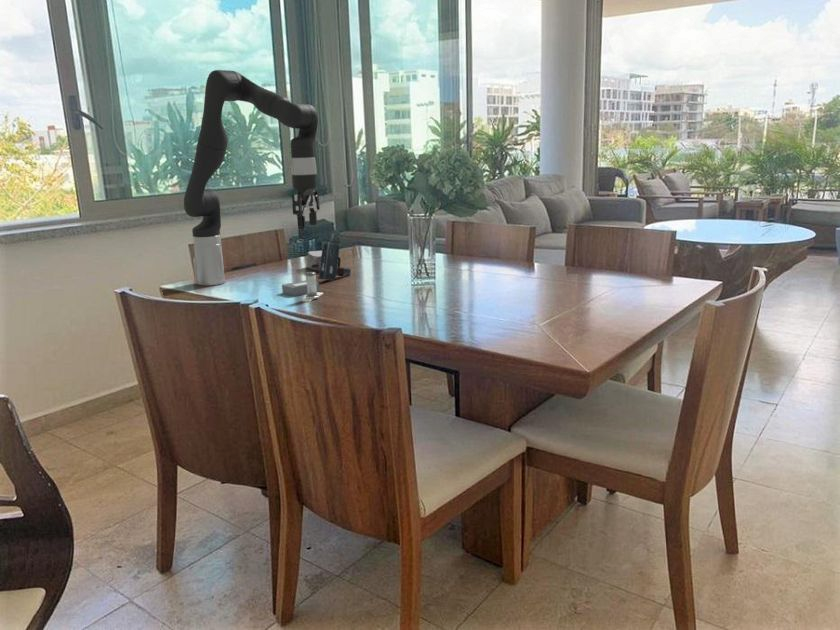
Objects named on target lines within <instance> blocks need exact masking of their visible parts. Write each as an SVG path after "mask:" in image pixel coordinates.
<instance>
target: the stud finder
mask: <svg viewBox="0 0 840 630" xmlns="http://www.w3.org/2000/svg"><path fill="white" fill-rule="evenodd" d="M316 288H317V292H320V290H321V289H320V282H317V281H316ZM281 289H282V290H281V292H282V294H284V295H287V296H291V297H298V296H303V295H307V282H306V280H302V281H301V280H300V281H295V282H291V283H290V282H289V283H285V284H284V283H283V284H281Z"/></svg>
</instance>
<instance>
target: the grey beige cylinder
mask: <svg viewBox="0 0 840 630" xmlns="http://www.w3.org/2000/svg"><path fill="white" fill-rule="evenodd" d="M305 281H306V282H307V294H306V295H305V298H307V299H313V300H315V299H318V298H320V296H319V295H317V288H316V282H317V272H316V271H307V272H305Z"/></svg>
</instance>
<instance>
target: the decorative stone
mask: <svg viewBox="0 0 840 630" xmlns="http://www.w3.org/2000/svg"><path fill="white" fill-rule="evenodd" d="M321 255H322V250H311V251H307V260H306V263H307V264H306V267H307V269H308V270H311V272H316V273H317V272H318V273H319V272H320V264H321V262H320V259H321Z"/></svg>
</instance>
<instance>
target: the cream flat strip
mask: <svg viewBox="0 0 840 630" xmlns="http://www.w3.org/2000/svg"><path fill="white" fill-rule="evenodd" d="M317 295H319V297H320V296H323V295H324V292H320V291H319V292H317ZM313 300H314V299H307V298H306V297H305V298H304V299H302V300H301V301H302V302H306V303H307V302H311V301H313Z"/></svg>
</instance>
